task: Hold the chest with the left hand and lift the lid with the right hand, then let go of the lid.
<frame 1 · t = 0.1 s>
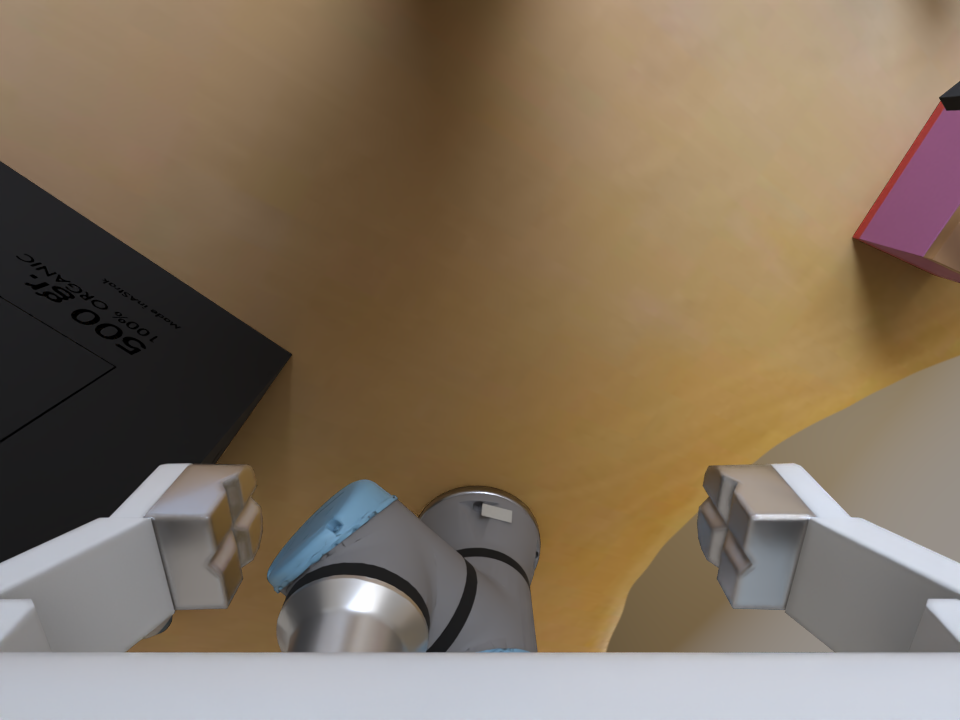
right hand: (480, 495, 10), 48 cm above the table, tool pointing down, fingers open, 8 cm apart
chest: (937, 192, 55), on the table
black boxy piece: (85, 321, 59), on the table
eyeball: (160, 593, 73), on the table
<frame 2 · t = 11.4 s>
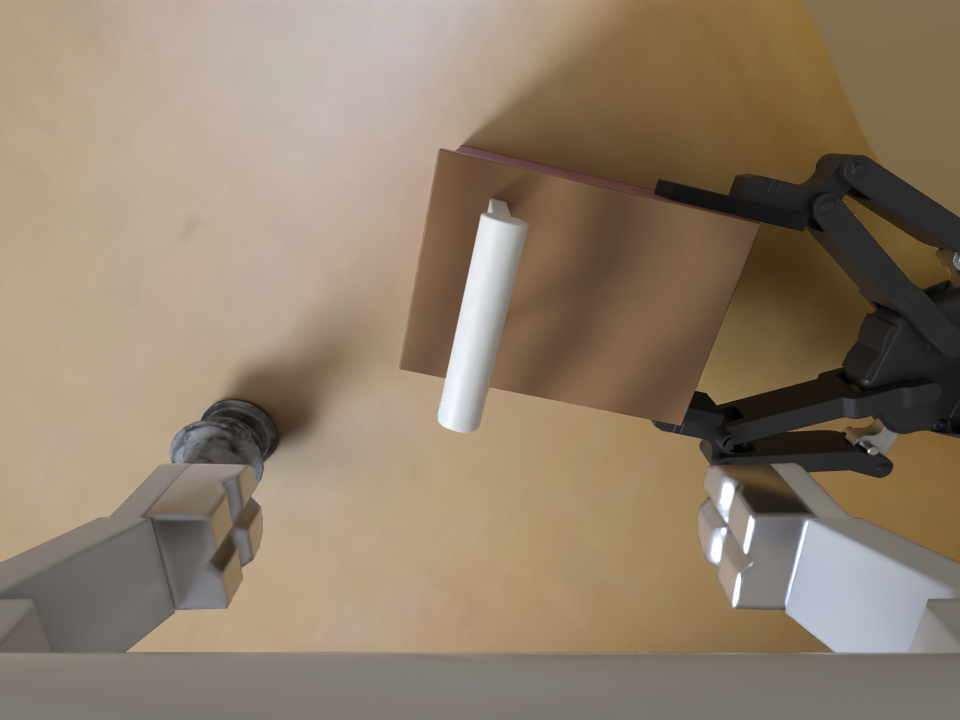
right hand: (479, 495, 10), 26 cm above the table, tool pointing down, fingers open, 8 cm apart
left hand: (629, 294, 29), fingers closed on chest, 10 cm apart
lid: (582, 321, 23), point 14 cm above the table, hinge at 0.0°
chest: (550, 253, 35), on the table, touching left hand
pewter chess piece: (239, 432, 40), on the table
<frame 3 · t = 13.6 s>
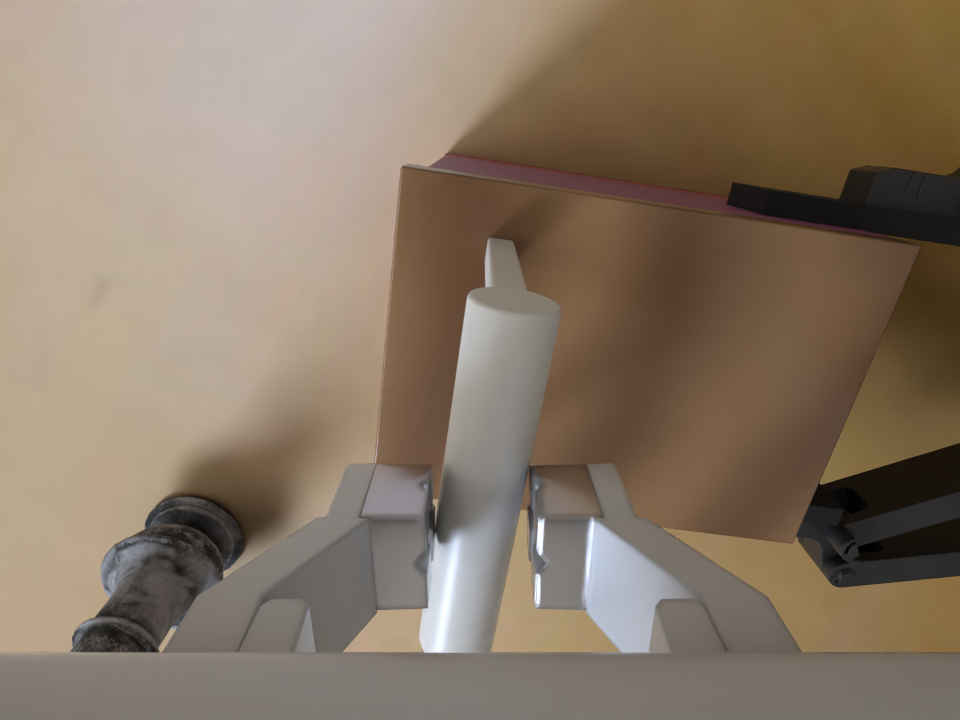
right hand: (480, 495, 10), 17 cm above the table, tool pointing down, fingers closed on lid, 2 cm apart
left hand: (699, 350, 20), fingers closed on chest, 10 cm apart
lid: (651, 430, 14), point 14 cm above the table, hinge at -0.1°, touching right hand
chest: (575, 287, 26), on the table, touching left hand
pewter chess piece: (196, 534, 32), on the table
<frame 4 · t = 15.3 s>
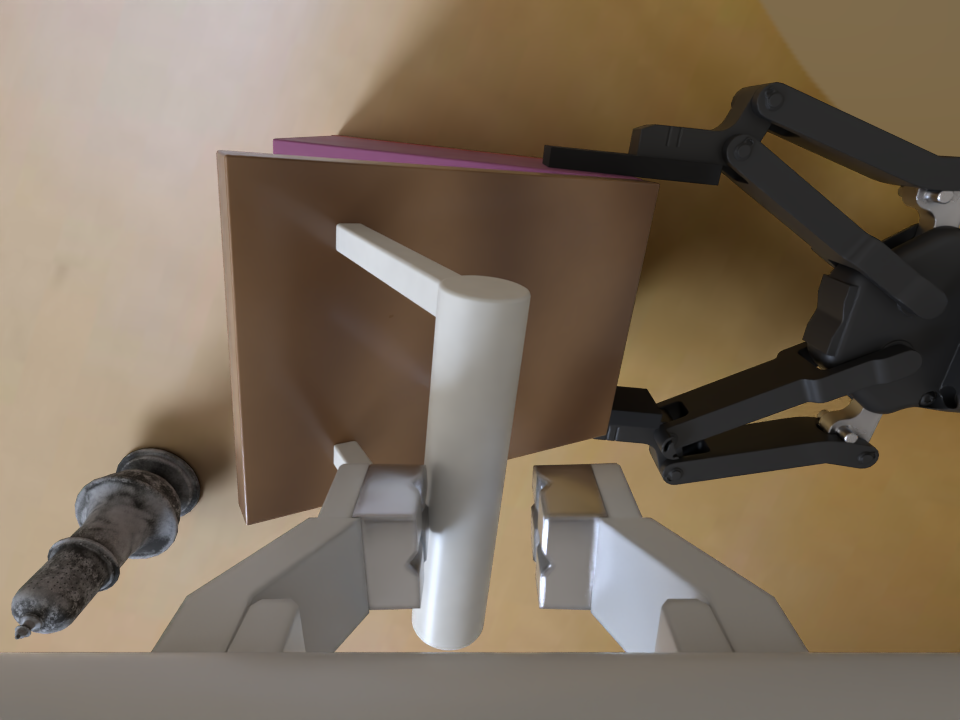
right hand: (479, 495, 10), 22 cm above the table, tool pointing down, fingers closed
left hand: (529, 285, 25), fingers closed on chest, 10 cm apart
lid: (532, 376, 15), point 17 cm above the table, hinge at 32.2°, touching right hand
chest: (458, 246, 31), on the table, touching left hand
pewter chess piece: (160, 482, 37), on the table
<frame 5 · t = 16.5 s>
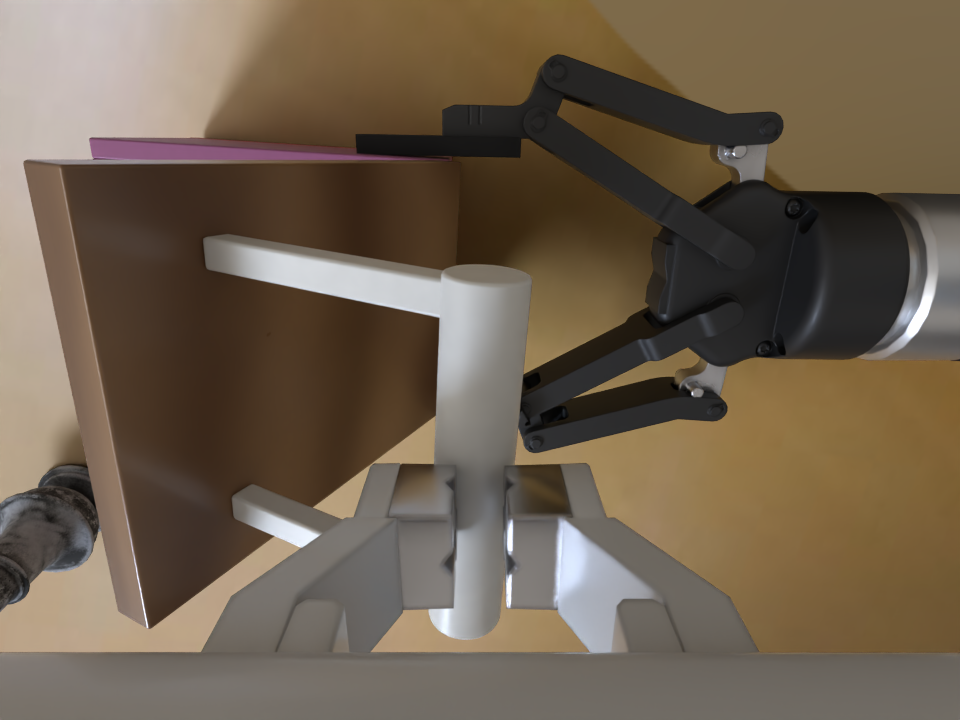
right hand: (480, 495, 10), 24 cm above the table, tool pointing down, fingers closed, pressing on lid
left hand: (369, 270, 26), fingers closed on chest, 10 cm apart
lid: (432, 361, 16), point 18 cm above the table, hinge at 62.0°, touching right hand
chest: (329, 240, 32), on the table, touching left hand
pewter chess piece: (82, 497, 38), on the table
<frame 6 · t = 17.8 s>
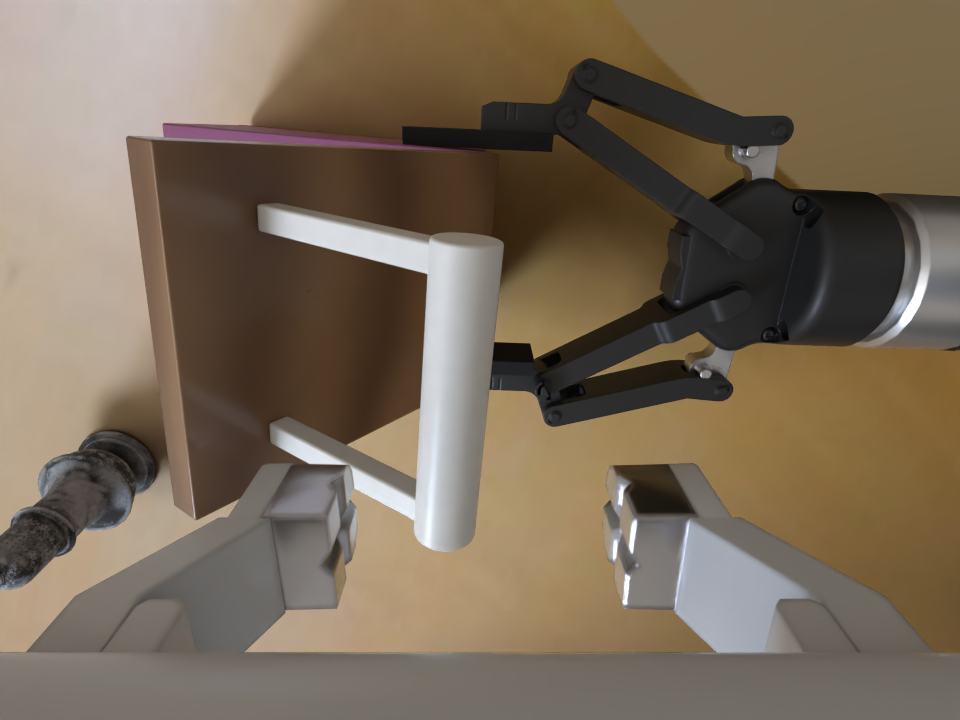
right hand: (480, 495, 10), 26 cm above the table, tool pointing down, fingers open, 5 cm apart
left hand: (406, 253, 28), fingers closed on chest, 10 cm apart
lid: (446, 325, 18), point 18 cm above the table, hinge at 54.3°
chest: (364, 224, 34), on the table, touching left hand
pewter chess piece: (119, 462, 40), on the table
when the left hand's fingers open (7 cm above the table, at t = 20.8 s): chest stays where it is, on the table.
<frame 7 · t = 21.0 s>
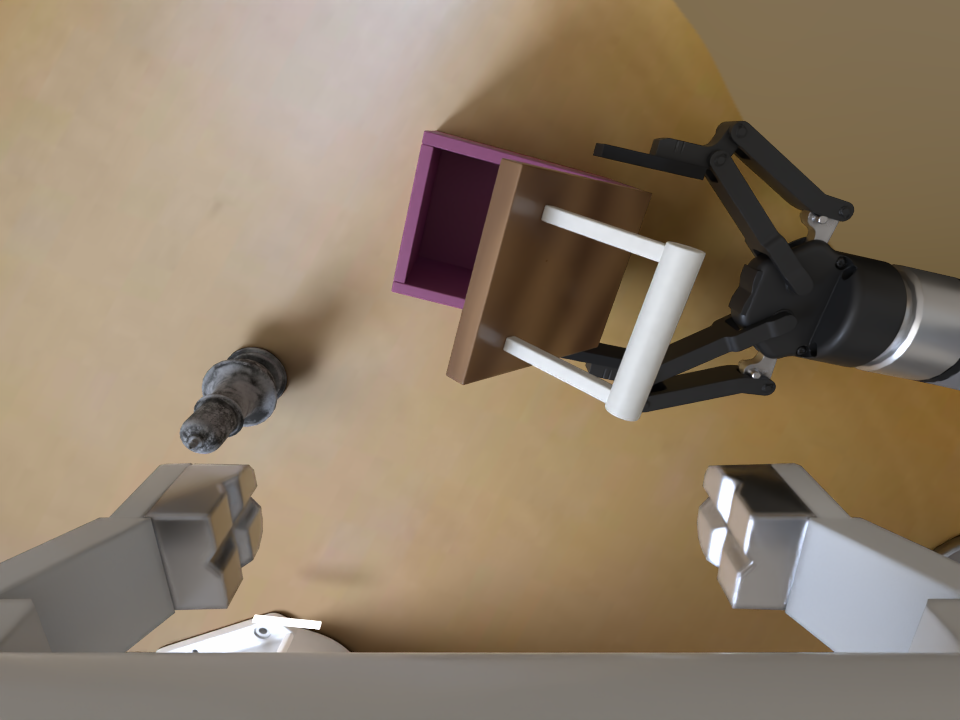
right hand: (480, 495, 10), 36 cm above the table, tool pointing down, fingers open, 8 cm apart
left hand: (570, 252, 38), fingers open, 12 cm apart
lid: (620, 298, 28), point 18 cm above the table, hinge at 51.4°
chest: (505, 220, 44), on the table
pewter chess piece: (256, 375, 49), on the table
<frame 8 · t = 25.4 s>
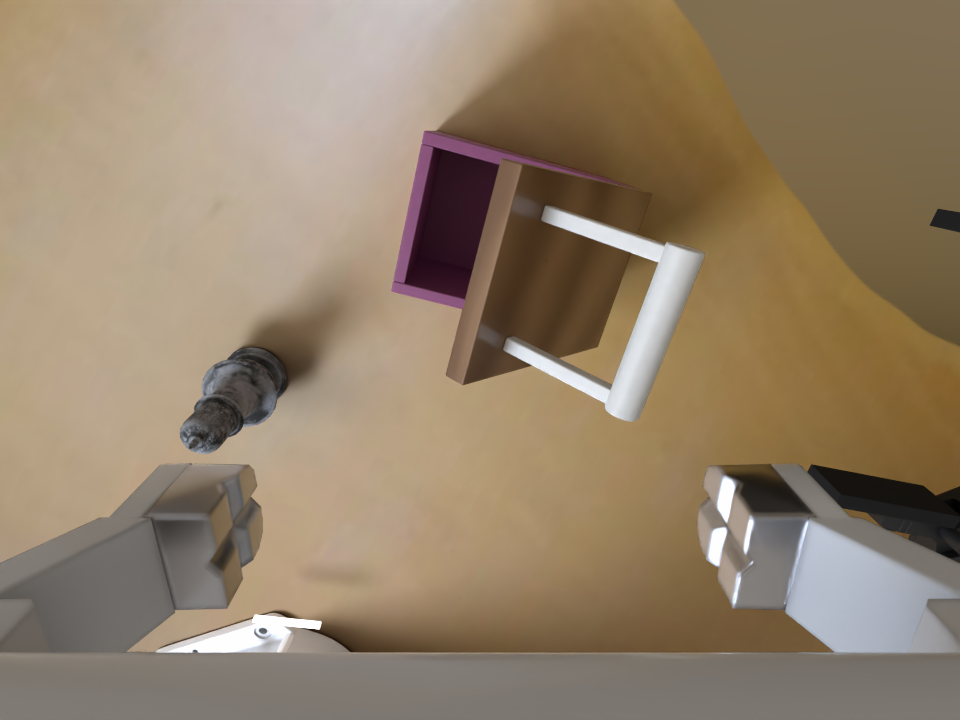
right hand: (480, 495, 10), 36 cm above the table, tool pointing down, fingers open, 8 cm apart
lid: (620, 298, 28), point 18 cm above the table, hinge at 51.4°
chest: (505, 220, 44), on the table
pewter chess piece: (256, 375, 49), on the table
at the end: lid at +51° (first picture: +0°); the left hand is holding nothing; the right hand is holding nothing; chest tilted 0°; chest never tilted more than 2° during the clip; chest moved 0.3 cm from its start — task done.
